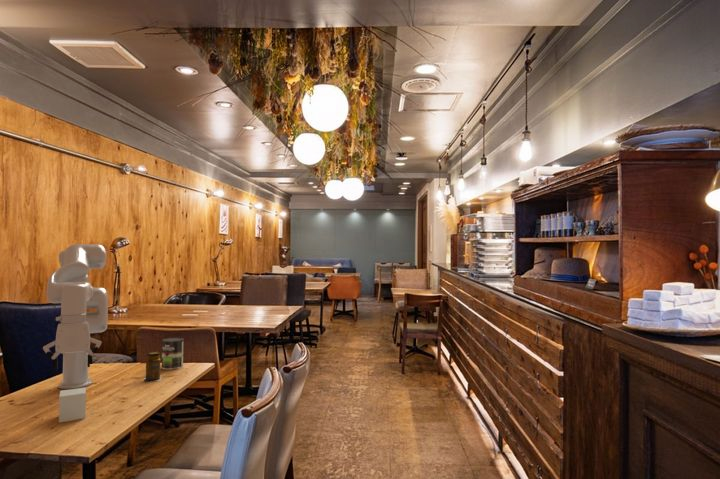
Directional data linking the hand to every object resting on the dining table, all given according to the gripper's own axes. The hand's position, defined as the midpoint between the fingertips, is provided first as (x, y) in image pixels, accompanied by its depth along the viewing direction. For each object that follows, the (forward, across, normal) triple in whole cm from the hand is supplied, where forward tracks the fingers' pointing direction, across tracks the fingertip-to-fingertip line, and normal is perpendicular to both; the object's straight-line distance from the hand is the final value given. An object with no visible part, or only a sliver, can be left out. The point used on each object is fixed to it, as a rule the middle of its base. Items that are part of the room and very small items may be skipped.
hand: (72, 368), depth 156 cm
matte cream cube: (+18, 0, +2) cm, 18 cm away
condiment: (+18, +30, +38) cm, 52 cm away
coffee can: (+18, +42, +57) cm, 73 cm away
